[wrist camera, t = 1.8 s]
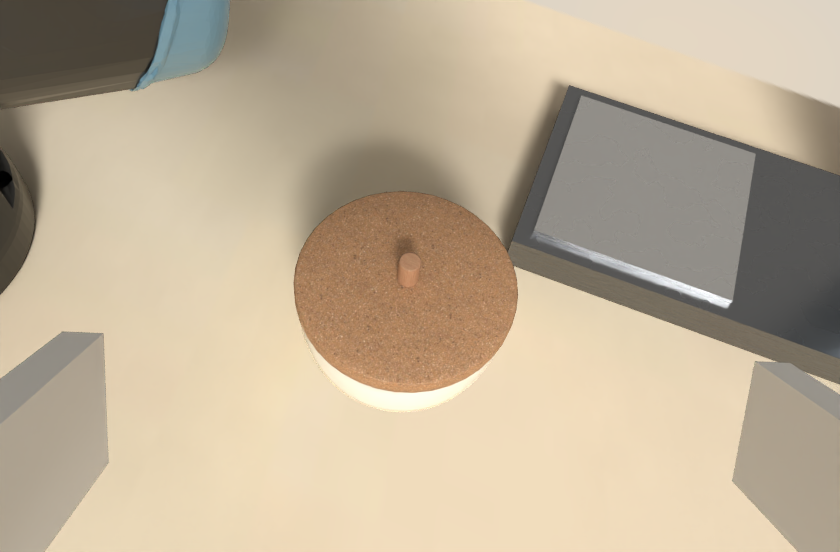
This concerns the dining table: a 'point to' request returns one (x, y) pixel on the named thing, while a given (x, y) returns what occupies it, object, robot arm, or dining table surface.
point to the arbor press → (688, 230)
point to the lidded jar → (404, 299)
